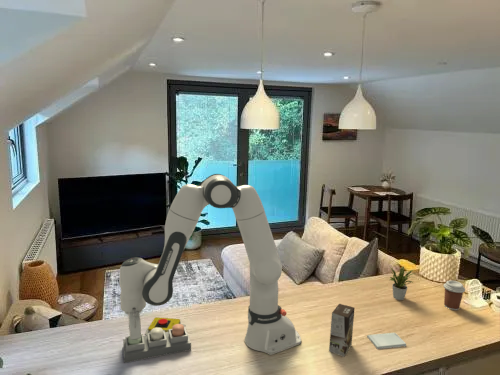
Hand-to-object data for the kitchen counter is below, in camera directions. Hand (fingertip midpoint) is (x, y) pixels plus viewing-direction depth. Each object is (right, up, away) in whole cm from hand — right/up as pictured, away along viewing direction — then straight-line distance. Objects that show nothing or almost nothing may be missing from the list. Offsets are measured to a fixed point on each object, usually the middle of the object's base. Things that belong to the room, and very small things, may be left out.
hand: (134, 336), depth 136 cm
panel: (+7, -6, +4) cm, 10 cm away
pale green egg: (0, -3, +1) cm, 3 cm away
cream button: (+7, -2, +3) cm, 8 cm away
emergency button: (+8, -4, +16) cm, 19 cm away
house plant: (+118, -1, +48) cm, 127 cm away
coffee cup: (+140, -2, +41) cm, 146 cm away
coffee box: (+78, -7, +7) cm, 78 cm away
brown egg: (+15, -1, +6) cm, 16 cm away
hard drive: (+97, -7, +12) cm, 98 cm away
